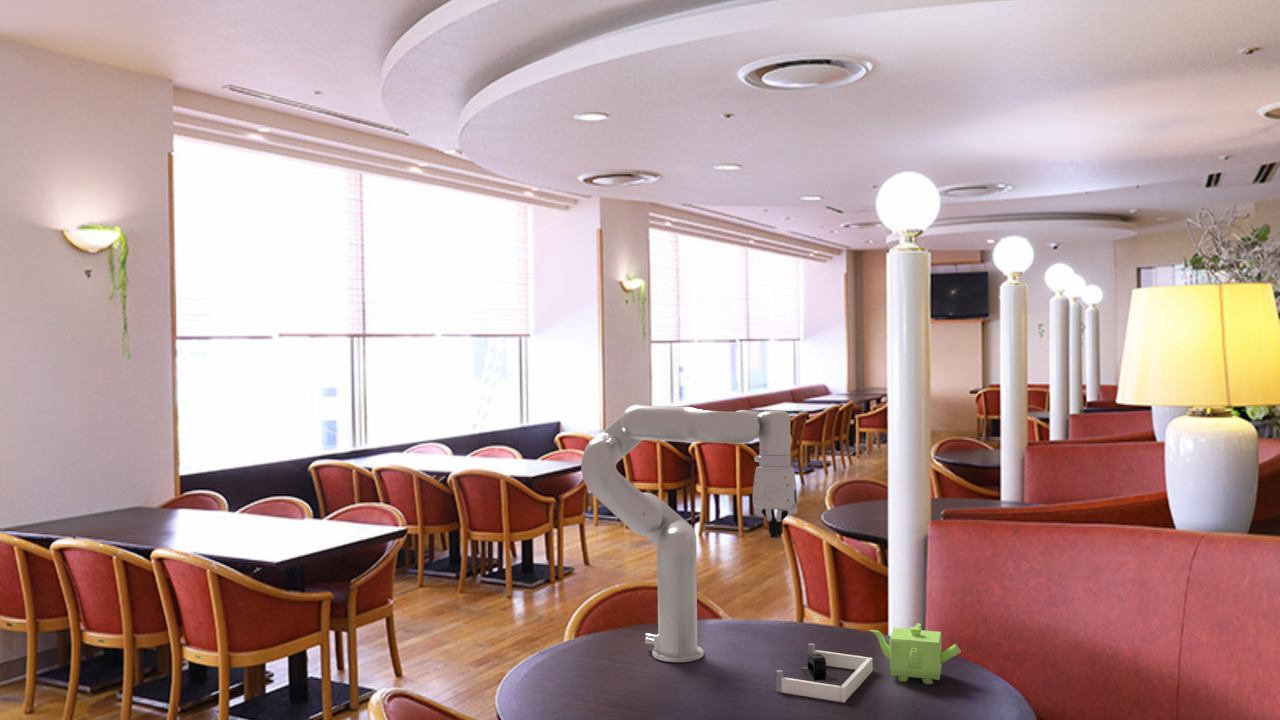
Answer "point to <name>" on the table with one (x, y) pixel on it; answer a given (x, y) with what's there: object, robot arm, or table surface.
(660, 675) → the table surface
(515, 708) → the table surface
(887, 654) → the kettle
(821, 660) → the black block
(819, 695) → the bay
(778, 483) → the robot arm
